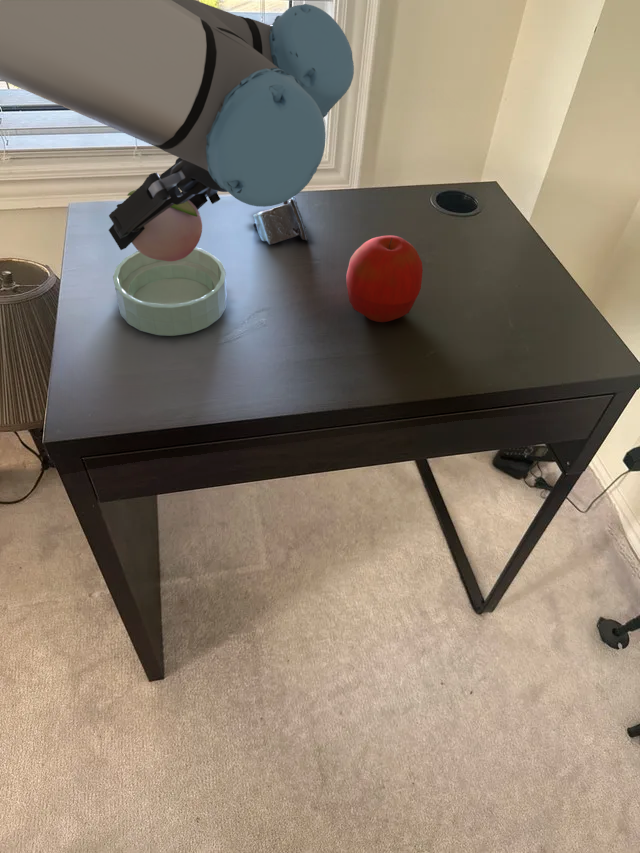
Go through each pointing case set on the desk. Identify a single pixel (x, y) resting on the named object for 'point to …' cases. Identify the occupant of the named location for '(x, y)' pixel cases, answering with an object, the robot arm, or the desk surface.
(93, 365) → the desk surface
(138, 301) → the bowl
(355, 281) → the apple
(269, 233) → the grey blocky piece
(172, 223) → the decorative fruit
